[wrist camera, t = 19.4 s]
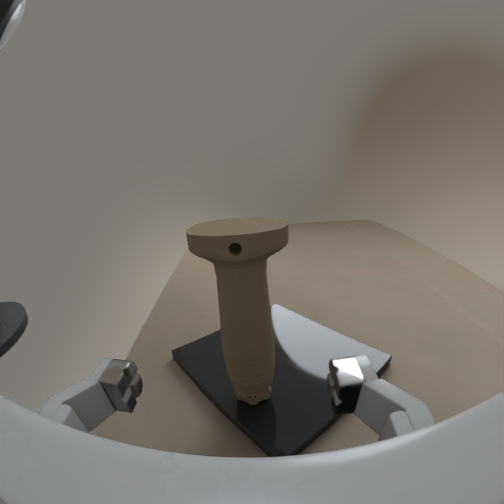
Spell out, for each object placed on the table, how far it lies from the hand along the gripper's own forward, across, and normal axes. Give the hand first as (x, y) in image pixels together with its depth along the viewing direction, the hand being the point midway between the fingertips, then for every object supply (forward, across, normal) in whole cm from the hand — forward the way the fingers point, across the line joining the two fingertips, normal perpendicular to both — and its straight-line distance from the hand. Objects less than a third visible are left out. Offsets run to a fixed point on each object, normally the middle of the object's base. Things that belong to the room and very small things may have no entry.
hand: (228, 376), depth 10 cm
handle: (+9, 0, +11) cm, 14 cm away
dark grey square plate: (+14, -2, +12) cm, 18 cm away
